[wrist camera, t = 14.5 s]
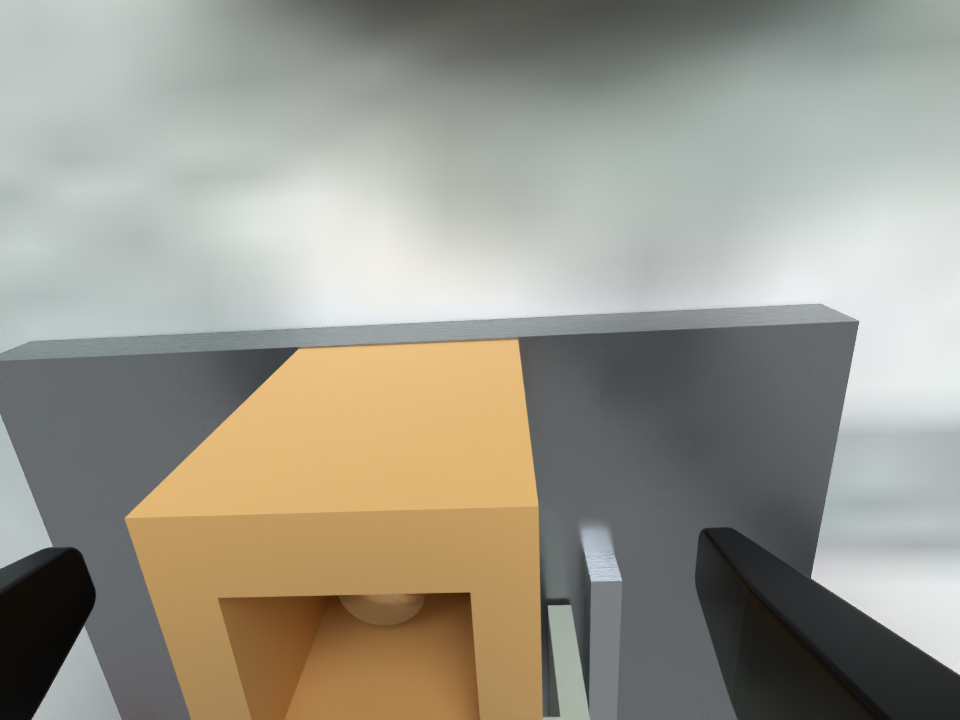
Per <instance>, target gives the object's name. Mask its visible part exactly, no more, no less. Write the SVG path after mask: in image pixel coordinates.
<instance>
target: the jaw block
mask: <svg viewBox="0 0 960 720" xmlns="http://www.w3.org/2000/svg"><path fill="white" fill-rule="evenodd" d="M125 521H126V524H127V527H128V530H129V533H130V536H131V539H132V542H133V545H134V548H135V551H136V555H137V558H138V561H139V564H140V567H141V570H142V573H143V576H144V579H145V582H146V585H147V588H148V591H149V594H150V597H151V600H152V603H153V606H154V609H155V612H156V615H157V618H158V621H159V624H160V627H161V630H162V633H163V636H164V639H165V642H166V645H167V648H168V651H169V654H170V657H171V660H172V663H173V666H174V669H175V672H176V675H177V678H178V681H179V684H180V687H181V690H182V693H183V696H184V699H185V702H186V705H187V708H188V711H189V715H190V718H191V720H543V708H542V657H541V605H540V554H539V506H538V497H537V489H536V481H535V473H534V465H533V457H532V448H531V440H530V432H529V424H528V416H527V408H526V399H525V391H524V383H523V375H522V367H521V358H520V350H519V342H518V340H499V341H475V342H452V343H428V344H404V345H381V346H357V347H333V348H309V349H298V350H297V351H296V352H295V353H294V354H293V355H292V356H291V357H290V358H289V359H288V360H287V361H286V362H285V363H284V364H283V365H282V366H281V367H280V368H279V369H278V370H277V371H276V372H274V373H273V374H272V375H271V376H270V377H269V378H268V379H267V380H266V381H265V382H264V383H263V384H262V385H261V386H260V387H259V388H258V389H257V390H256V391H255V392H254V393H253V394H252V395H251V396H250V397H249V398H248V399H247V400H246V401H245V402H244V403H243V404H242V405H240V406H239V407H238V408H237V409H236V410H235V411H234V412H233V413H232V414H231V415H230V416H229V417H228V418H227V419H226V420H225V421H224V422H223V423H222V424H221V425H220V426H219V427H218V428H217V429H216V430H215V431H214V432H213V433H212V434H211V435H210V436H209V437H208V438H207V439H205V440H204V441H203V442H202V443H201V444H200V445H199V446H198V447H197V448H196V449H195V450H194V451H193V452H192V453H191V454H190V455H189V456H188V457H187V458H186V459H185V460H184V461H183V462H182V463H181V464H180V465H179V466H178V467H177V468H176V469H175V470H174V471H173V472H172V473H170V474H169V475H168V476H167V477H166V478H165V479H164V480H163V481H162V482H161V483H160V484H159V485H158V486H157V487H156V488H155V489H154V490H153V491H152V492H151V493H150V494H149V495H148V496H147V497H146V498H145V499H144V500H143V501H142V502H141V503H140V504H139V505H138V506H136V507H135V508H134V509H133V510H132V511H131V512H130V513H129V514H128V515H127V516H126V517H125ZM417 593H425V599H424V602H423V605H422V607H421V608H420V610H419V611H418V612H417V613H416V614H415V615H414V616H413V617H412V618H410V619H408V620H406V621H404V622H402V623H398V624H393V625H376V624H371V623H368V622H365V621H363V620H360V619H358V618H357V617H355V616H354V615H352V614H351V613H350V612H349V611H348V610H347V609H346V608H345V607H344V606H343V604H342V603H341V601H340V599H339V596H338V595H371V594H417Z"/></svg>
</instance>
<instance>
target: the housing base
mask: <svg viewBox="0 0 960 720" xmlns="http://www.w3.org/2000/svg"><path fill="white" fill-rule="evenodd" d="M858 325H859V321H858V320H856V319H853V318H851V317H849V316H847V315H844V314H842V313H840V312H838V311H836V310H833V309H831V308H829V307H827V306H824V305H822V304H807V305H786V306H765V307H744V308H723V309H702V310H682V311H661V312H640V313H619V314H598V315H577V316H556V317H535V318H514V319H493V320H472V321H451V322H430V323H409V324H388V325H367V326H347V327H326V328H305V329H284V330H263V331H242V332H221V333H200V334H179V335H158V336H137V337H116V338H95V339H74V340H53V341H32V342H28V343H26V344H23V345H21V346H18V347H16V348H13V349H11V350H8V351H6V352H3V353H1V354H0V414H1V417H2V419H3V422H4V424H5V427H6V429H7V432H8V434H9V437H10V439H11V442H12V444H13V447H14V449H15V452H16V454H17V457H18V459H19V462H20V464H21V467H22V469H23V472H24V474H25V477H26V479H27V482H28V484H29V487H30V489H31V492H32V494H33V497H34V500H35V502H36V505H37V507H38V510H39V512H40V515H41V517H42V520H43V522H44V525H45V527H46V530H47V532H48V535H49V537H50V540H51V542H52V545H53V547H73V548H77V549H78V550H79V551H80V552H81V553H82V555H83V557H84V560H85V563H86V565H87V568H88V571H89V573H90V576H91V578H92V581H93V584H94V586H95V590H96V601H95V605H94V608H93V610H92V612H91V613H90V615H89V617H88V619H87V621H86V623H85V624H84V625H85V628H86V630H87V633H88V635H89V638H90V640H91V643H92V645H93V648H94V650H95V653H96V655H97V658H98V660H99V663H100V665H101V668H102V670H103V673H104V675H105V678H106V680H107V683H108V685H109V688H110V690H111V693H112V696H113V698H114V701H115V703H116V706H117V708H118V711H119V713H120V716H121V718H122V720H191V718H190V715H189V711H188V708H187V705H186V702H185V699H184V696H183V693H182V690H181V687H180V684H179V681H178V678H177V675H176V672H175V669H174V666H173V663H172V660H171V657H170V654H169V651H168V648H167V645H166V642H165V639H164V636H163V633H162V630H161V627H160V624H159V621H158V618H157V615H156V612H155V609H154V606H153V603H152V600H151V597H150V594H149V591H148V588H147V585H146V582H145V579H144V576H143V573H142V570H141V567H140V564H139V561H138V558H137V555H136V551H135V548H134V545H133V542H132V539H131V536H130V533H129V530H128V527H127V524H126V521H125V517H126V516H127V515H128V514H129V513H130V512H131V511H132V510H133V509H134V508H135V507H136V506H138V505H139V504H140V503H141V502H142V501H143V500H144V499H145V498H146V497H147V496H148V495H149V494H150V493H151V492H152V491H153V490H154V489H155V488H156V487H157V486H158V485H159V484H160V483H161V482H162V481H163V480H164V479H165V478H166V477H167V476H168V475H169V474H170V473H172V472H173V471H174V470H175V469H176V468H177V467H178V466H179V465H180V464H181V463H182V462H183V461H184V460H185V459H186V458H187V457H188V456H189V455H190V454H191V453H192V452H193V451H194V450H195V449H196V448H197V447H198V446H199V445H200V444H201V443H202V442H203V441H204V440H205V439H207V438H208V437H209V436H210V435H211V434H212V433H213V432H214V431H215V430H216V429H217V428H218V427H219V426H220V425H221V424H222V423H223V422H224V421H225V420H226V419H227V418H228V417H229V416H230V415H231V414H232V413H233V412H234V411H235V410H236V409H237V408H238V407H239V406H240V405H242V404H243V403H244V402H245V401H246V400H247V399H248V398H249V397H250V396H251V395H252V394H253V393H254V392H255V391H256V390H257V389H258V388H259V387H260V386H261V385H262V384H263V383H264V382H265V381H266V380H267V379H268V378H269V377H270V376H271V375H272V374H273V373H274V372H276V371H277V370H278V369H279V368H280V367H281V366H282V365H283V364H284V363H285V362H286V361H287V360H288V359H289V358H290V357H291V356H292V355H293V354H294V353H295V352H296V351H297V350H298V349H309V348H333V347H357V346H381V345H404V344H428V343H452V342H475V341H499V340H518V342H519V350H520V358H521V367H522V375H523V383H524V391H525V399H526V408H527V416H528V424H529V432H530V440H531V448H532V457H533V465H534V473H535V481H536V489H537V497H538V506H539V554H540V605H541V657H542V708H543V717H550V706H549V653H548V606H550V605H571V608H572V614H573V620H574V626H575V632H576V638H577V644H578V650H579V656H580V662H581V668H582V674H583V680H584V686H585V692H586V698H587V703H588V709H589V715H590V720H738V719H737V717H736V714H735V712H734V709H733V707H732V704H731V701H730V698H729V695H728V692H727V689H726V686H725V683H724V680H723V676H722V673H721V670H720V667H719V663H718V660H717V657H716V654H715V650H714V647H713V644H712V641H711V637H710V634H709V631H708V627H707V624H706V621H705V618H704V614H703V611H702V608H701V605H700V601H699V598H698V595H697V591H696V586H695V567H696V556H697V546H698V537H699V534H700V531H701V530H702V529H704V528H713V527H730V528H733V529H735V530H737V531H738V532H740V533H742V534H743V535H745V536H746V537H748V538H749V539H751V540H752V541H754V542H755V543H757V544H758V545H760V546H762V547H763V548H765V549H766V550H768V551H769V552H771V553H772V554H774V555H775V556H777V557H778V558H780V559H782V560H783V561H785V562H786V563H788V564H789V565H791V566H792V567H794V568H795V569H797V570H799V571H800V572H802V573H803V574H805V575H806V576H808V577H809V578H811V574H812V568H813V563H814V558H815V552H816V547H817V542H818V537H819V531H820V526H821V521H822V515H823V510H824V505H825V499H826V494H827V489H828V484H829V478H830V473H831V468H832V462H833V457H834V452H835V446H836V441H837V436H838V431H839V425H840V420H841V415H842V409H843V404H844V399H845V394H846V388H847V383H848V378H849V372H850V367H851V362H852V356H853V351H854V346H855V341H856V335H857V330H858ZM338 596H339V599H340V601H341V603H342V604H343V606H344V607H345V608H346V609H347V610H348V611H349V612H350V613H351V614H352V615H354V616H355V617H357V618H358V619H360V620H363V621H365V622H368V623H371V624H376V625H393V624H398V623H402V622H404V621H406V620H408V619H410V618H412V617H413V616H414V615H415V614H416V613H417V612H418V611H419V610H420V608H421V607H422V605H423V602H424V599H425V593H417V594H371V595H338Z"/></svg>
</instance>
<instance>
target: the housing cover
mask: <svg viewBox="0 0 960 720" xmlns="http://www.w3.org/2000/svg"><path fill="white" fill-rule="evenodd" d="M548 653H549V706H550V717H543V720H590V715H589V709H588V703H587V698H586V692H585V686H584V680H583V674H582V668H581V662H580V656H579V650H578V644H577V638H576V632H575V626H574V620H573V614H572V608H571V605H550V606H548Z"/></svg>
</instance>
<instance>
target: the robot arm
mask: <svg viewBox="0 0 960 720" xmlns="http://www.w3.org/2000/svg"><path fill="white" fill-rule="evenodd" d="M695 586H696V591H697V595H698V598H699V601H700V605H701V608H702V611H703V614H704V618H705V621H706V624H707V627H708V631H709V634H710V637H711V641H712V644H713V647H714V650H715V654H716V657H717V660H718V663H719V667H720V670H721V673H722V676H723V680H724V683H725V686H726V689H727V692H728V695H729V698H730V701H731V704H732V707H733V709H734V712H735V714H736V717H737V719H738V720H960V675H959V674H957V673H956V672H954V671H953V670H951V669H949V668H948V667H946V666H945V665H943V664H942V663H940V662H939V661H937V660H936V659H934V658H933V657H931V656H929V655H928V654H926V653H925V652H923V651H922V650H920V649H919V648H917V647H916V646H914V645H912V644H911V643H909V642H908V641H906V640H905V639H903V638H902V637H900V636H899V635H897V634H896V633H894V632H892V631H891V630H889V629H888V628H886V627H885V626H883V625H882V624H880V623H879V622H877V621H876V620H874V619H872V618H871V617H869V616H868V615H866V614H865V613H863V612H862V611H860V610H859V609H857V608H856V607H854V606H852V605H851V604H849V603H848V602H846V601H845V600H843V599H842V598H840V597H839V596H837V595H835V594H834V593H832V592H831V591H829V590H828V589H826V588H825V587H823V586H822V585H820V584H819V583H817V582H815V581H814V580H812V579H811V578H809V577H808V576H806V575H805V574H803V573H802V572H800V571H799V570H797V569H795V568H794V567H792V566H791V565H789V564H788V563H786V562H785V561H783V560H782V559H780V558H778V557H777V556H775V555H774V554H772V553H771V552H769V551H768V550H766V549H765V548H763V547H762V546H760V545H758V544H757V543H755V542H754V541H752V540H751V539H749V538H748V537H746V536H745V535H743V534H742V533H740V532H738V531H737V530H735V529H733V528H730V527H713V528H704V529H702V530H701V531H700V534H699V537H698V546H697V556H696V567H695ZM95 601H96V590H95V586H94V584H93V581H92V578H91V576H90V573H89V571H88V568H87V565H86V563H85V560H84V557H83V555H82V553H81V552H80V551H79V550H78V549H77V548H73V547H52V548H45V549H42V550H40V551H38V552H35V553H33V554H31V555H29V556H27V557H25V558H23V559H21V560H18V561H16V562H14V563H12V564H10V565H8V566H6V567H4V568H1V569H0V720H31V719H32V718H33V716H34V714H35V713H36V711H37V709H38V707H39V706H40V704H41V702H42V701H43V699H44V697H45V695H46V693H47V692H48V690H49V688H50V686H51V684H52V683H53V681H54V679H55V677H56V675H57V673H58V672H59V670H60V668H61V666H62V664H63V663H64V661H65V659H66V657H67V655H68V653H69V652H70V650H71V648H72V646H73V644H74V643H75V641H76V639H77V637H78V635H79V633H80V632H81V630H82V628H83V626H84V624H85V623H86V621H87V619H88V617H89V615H90V613H91V612H92V610H93V608H94V605H95Z"/></svg>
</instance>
